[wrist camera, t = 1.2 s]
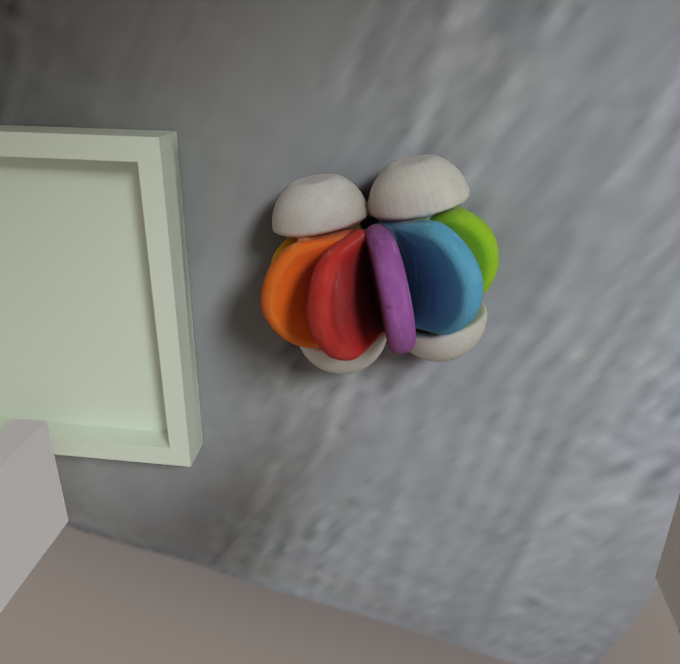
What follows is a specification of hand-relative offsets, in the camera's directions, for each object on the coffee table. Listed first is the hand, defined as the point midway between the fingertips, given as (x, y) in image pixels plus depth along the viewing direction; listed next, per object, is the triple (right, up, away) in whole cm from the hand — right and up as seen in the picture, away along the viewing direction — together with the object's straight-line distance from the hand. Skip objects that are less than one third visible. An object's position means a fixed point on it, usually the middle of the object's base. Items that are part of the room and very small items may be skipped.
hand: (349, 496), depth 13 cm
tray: (-15, +5, +18) cm, 24 cm away
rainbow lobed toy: (+2, +7, +15) cm, 17 cm away
